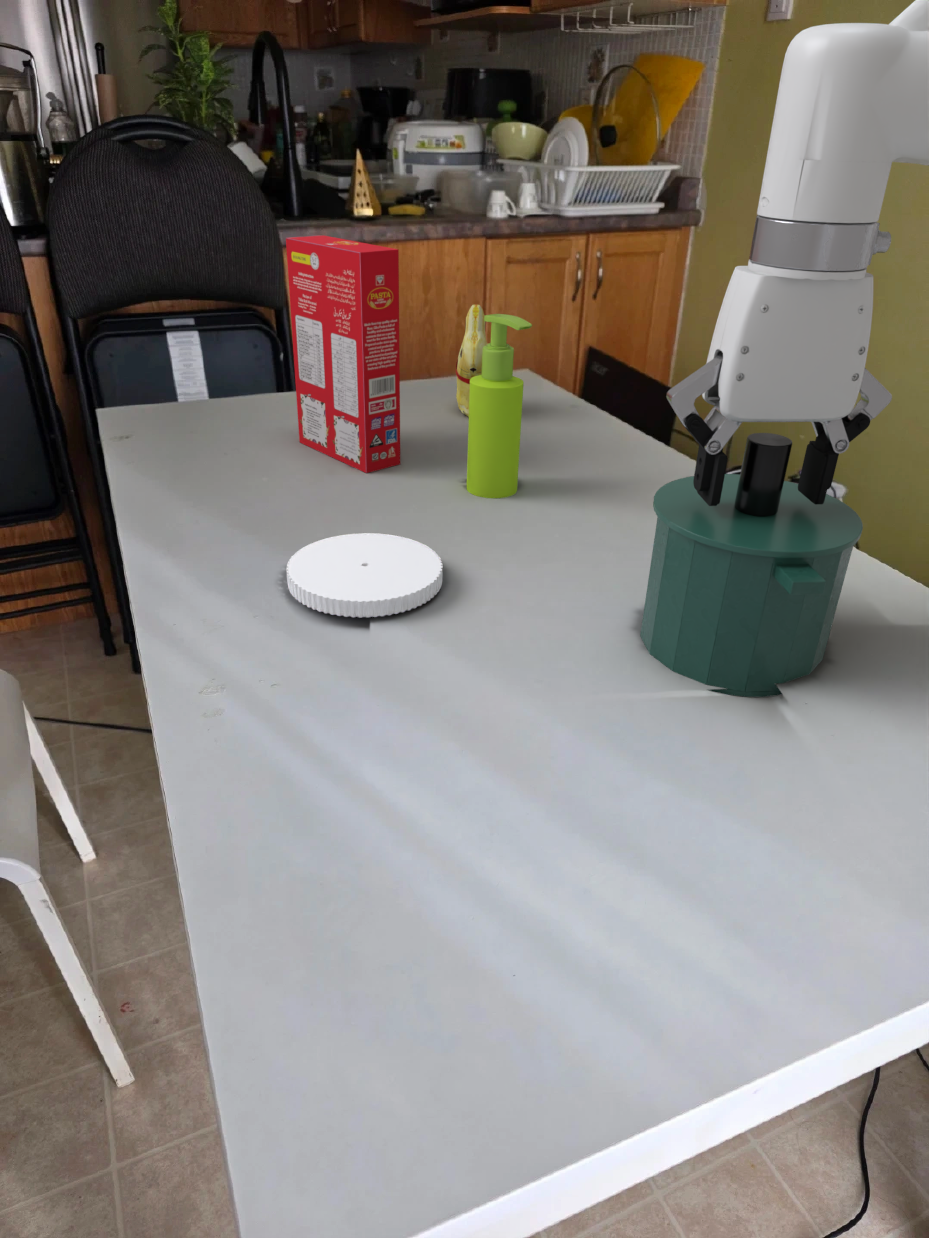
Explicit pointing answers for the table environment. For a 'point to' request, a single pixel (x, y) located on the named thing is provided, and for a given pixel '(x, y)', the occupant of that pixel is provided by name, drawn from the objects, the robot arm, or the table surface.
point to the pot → (738, 613)
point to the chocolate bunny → (470, 355)
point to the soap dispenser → (495, 415)
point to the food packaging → (346, 348)
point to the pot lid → (760, 509)
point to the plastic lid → (364, 575)
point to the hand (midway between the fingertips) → (759, 497)
